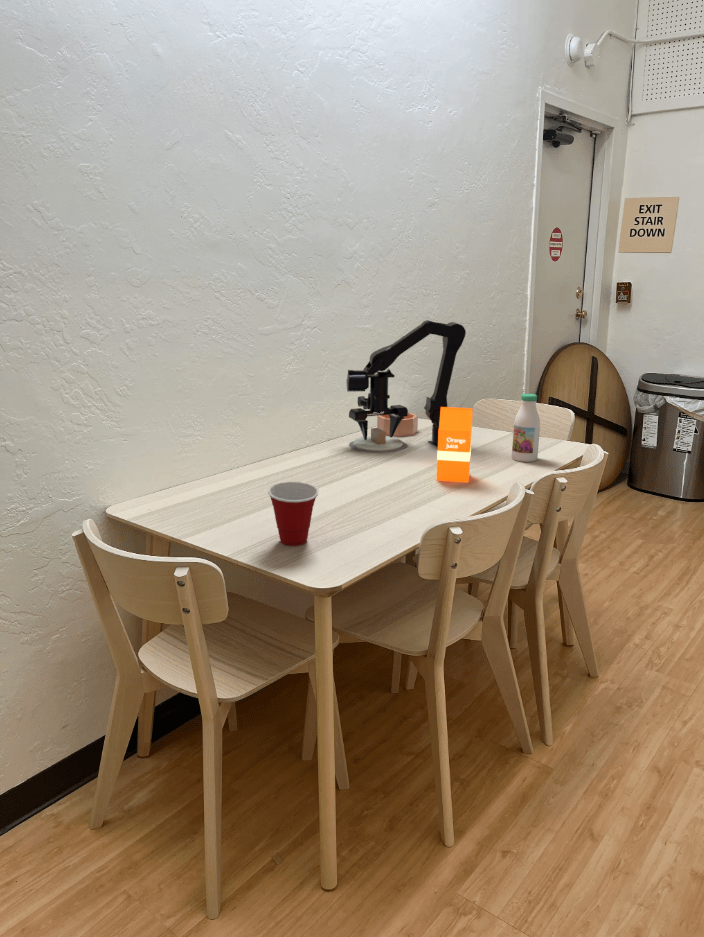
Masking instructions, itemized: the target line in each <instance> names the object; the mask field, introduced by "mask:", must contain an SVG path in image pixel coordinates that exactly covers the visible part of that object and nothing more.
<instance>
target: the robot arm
mask: <svg viewBox="0 0 704 937" xmlns="http://www.w3.org/2000/svg"><path fill="white" fill-rule="evenodd" d="M466 334H467V331H466V328H465V327H464V326H463V325H462V324H461V323H457V322H455V321H451V322H448V323H442V322H437V321H432V320H429V319H425V320H423V321H422V323H421V324H419V325H418V326H416V327H415V328H413V329H412V330H410V331H409V332H407V333H406V334H405V335H404V336H402V337H400V338H399V339H398V340H396V341H394V342H392V343H391V344H390V345H387V346H384V347H383V346H382V347H381V348H379V349H377V350H375V351H373V352H372V353H371V354H370V356H369V361H368V362H367V364H366V365H365V366H364V368H363V369H362V370H359V369H358V370H353V369H347V375H346V377H347V378H346V391H347V392H348V393H349V392H351V393H352V392H353V393H354V392H366V390H368V389H369V393H368V394H367V398H366V397H365V396H363V395H361V396H359V395H358V396H357V406H358V408H350V409H349V412H348V418H350V419H351V420H353V421H354V422H356V423H357V424H358V426H359V429H360V431H361V434H362V437H364V440H367V436H368V428H369V425H368V424H369V421H368V420H367V418H368V417H377V416H378V415H389V417H390V436H389V437H391V438H392V437H393V438H394V436H393V435H394V433H395V431H396V429H397V427H398V425H399V423H400V422H401V420H402V419H404V416H408V413H409V409H408V407H406V406H404V405H402V404H396V405H395V404H393V405H390V406H388V405H389V404H388V403H389V399H390V398H391V397H390V394H389V378H396V377H395V374H394V373H392V371H391V369H390V368H389V367H391V366H392V364H393V363H394V362H395V361H396V360H397V359H398V357H399V356H400V355H402V354H403V353H405V352H406V351H408V350H409V349H411V348H412V347H414V346H415V345H416V344H418V343H419V342H421V341H422V340H424V339H425V338H427V337H428V336H429V335H436V336H438V337H439V336H440V337H442V354H441V360H440V362H439V368H438V372H437V377H436V381H435V386H434V390H433V394H432V395H431V396H430V397H428V396H426V399H425V400H426V401H425V406H424V407H423V409H424V410H425V416H426V417H427V418H428V419H429V420H430V421H431V423H432V428H431V429H432V430H431V431H432V432H431V440H427V444H428V443H429V444H430V445H432V446H434V447H436V448H438V432H439V422H440V411H441V407H448V398H447V397H448V392H449V389H450V384H451V379H452V376H453V370H454V366H455V361H456V357H457V353H458V351H459V350H460V348H461V346H462V344H463V343H464V340H465V337H466ZM369 387H370V388H369Z"/></svg>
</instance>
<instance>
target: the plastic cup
mask: <svg viewBox="0 0 704 937" xmlns="http://www.w3.org/2000/svg"><path fill="white" fill-rule="evenodd" d="M267 490H268V491H267V493H268V495H269V497H270V501H271V504H272V508H273V512H274V517H275V522H276V528H277V531H278V535H279V539H280V542H281V544H282V545H285V546H289V547H290V546H291V547H294V546H295V547H296V546H302V545H304V544H307V541H308V537H309V531H310V527H311V520H312V514H313V509H314V506H315V502H316V499H317V497H318V496H319V489H318V488H317V486H315V485H312V484H310V483H307V482H301V481H283V482H278V483H274V484H273V485H271V486H269V488H268V489H267Z"/></svg>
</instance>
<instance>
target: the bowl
mask: <svg viewBox="0 0 704 937" xmlns="http://www.w3.org/2000/svg"><path fill="white" fill-rule="evenodd" d="M376 419H377V420H376V422H377V423H376V428H379V429H381V430H383V431H385V432H386V436H387V437H390V417H389V415H378V416H376ZM418 421H419V415H417V414H414V413H412V412H408V416H404V419H402V420H401V422H400V423H399V425H398V427H397V429H396V431H395V433H394V435H393V437H398V438H400V437H408V436H409V437H410V436H414V435H415V434H416V433H418V424H419V423H418Z"/></svg>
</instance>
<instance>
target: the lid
mask: <svg viewBox="0 0 704 937" xmlns="http://www.w3.org/2000/svg"><path fill="white" fill-rule="evenodd" d="M353 441H354V447H356V448H358V449H361V450H366V451H392V450H397V449H400V448H401V447H402V446H403V442H404V441H402V440H401V439H399V438H396V437H394V436H393V437H392V438H391V437H390V436H387V435H386V432H385V431H383V430H381V429H379V428H377V427H373V428H370V435H367V440H364V437H363V436H361V437H358V438H356V439H354V440H353Z"/></svg>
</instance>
